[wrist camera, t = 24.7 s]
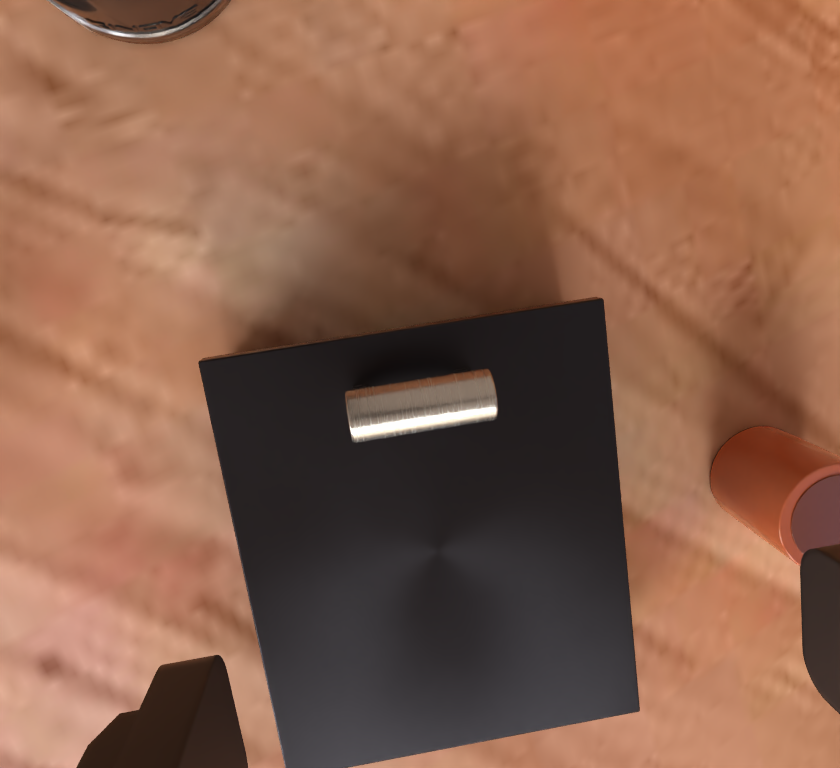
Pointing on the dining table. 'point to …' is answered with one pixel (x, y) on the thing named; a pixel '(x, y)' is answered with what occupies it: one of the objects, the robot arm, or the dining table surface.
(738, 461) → the terracotta cup
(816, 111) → the dining table surface
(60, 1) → the robot arm
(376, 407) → the lid
